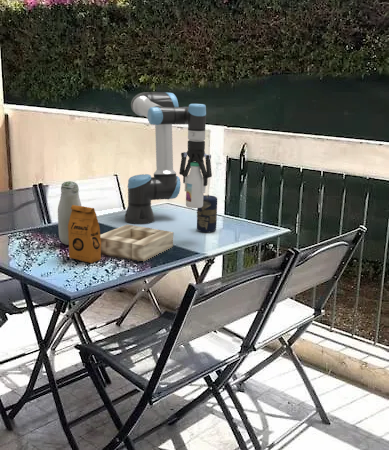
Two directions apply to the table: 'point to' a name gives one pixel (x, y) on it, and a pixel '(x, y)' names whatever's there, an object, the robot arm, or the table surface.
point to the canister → (207, 214)
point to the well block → (135, 242)
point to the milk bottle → (194, 187)
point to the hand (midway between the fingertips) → (194, 191)
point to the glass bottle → (67, 208)
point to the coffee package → (84, 234)
